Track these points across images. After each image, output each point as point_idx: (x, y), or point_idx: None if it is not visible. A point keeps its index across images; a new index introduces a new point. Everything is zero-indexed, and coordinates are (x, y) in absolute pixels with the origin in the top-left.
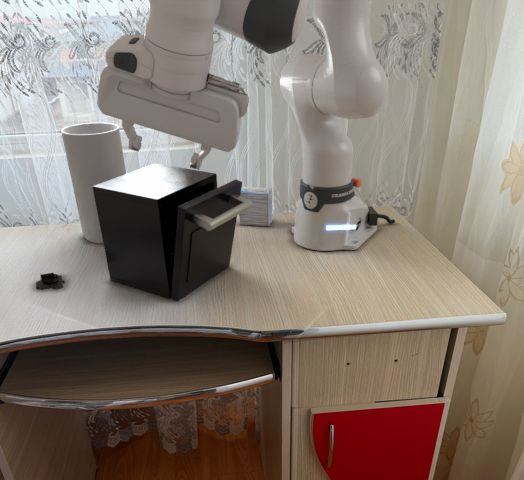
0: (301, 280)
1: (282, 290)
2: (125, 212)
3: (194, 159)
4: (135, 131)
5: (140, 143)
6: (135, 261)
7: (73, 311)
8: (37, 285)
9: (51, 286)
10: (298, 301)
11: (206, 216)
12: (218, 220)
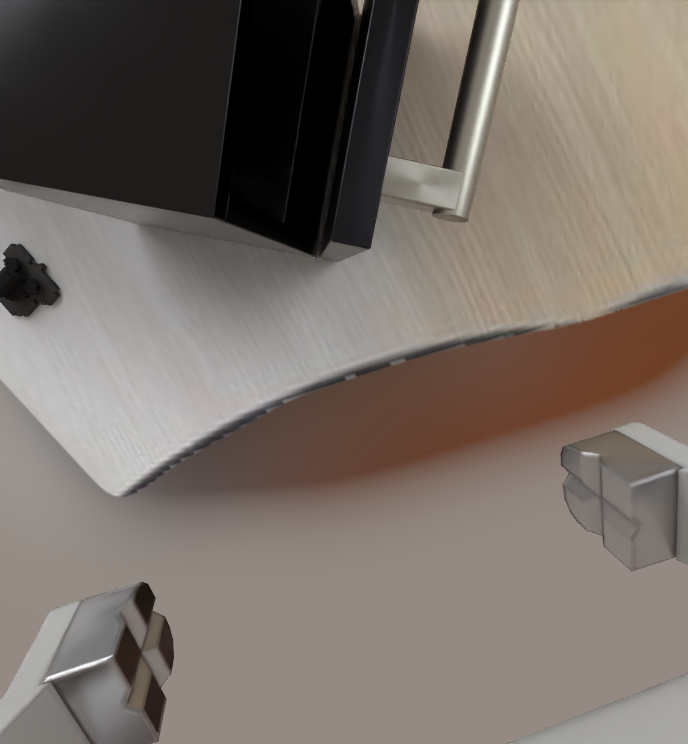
0: (627, 10)
1: (584, 98)
2: (85, 201)
3: (653, 559)
4: (14, 718)
5: (132, 618)
6: (190, 230)
7: (150, 373)
8: (8, 307)
9: (36, 297)
10: (645, 145)
11: (428, 169)
12: (479, 161)
